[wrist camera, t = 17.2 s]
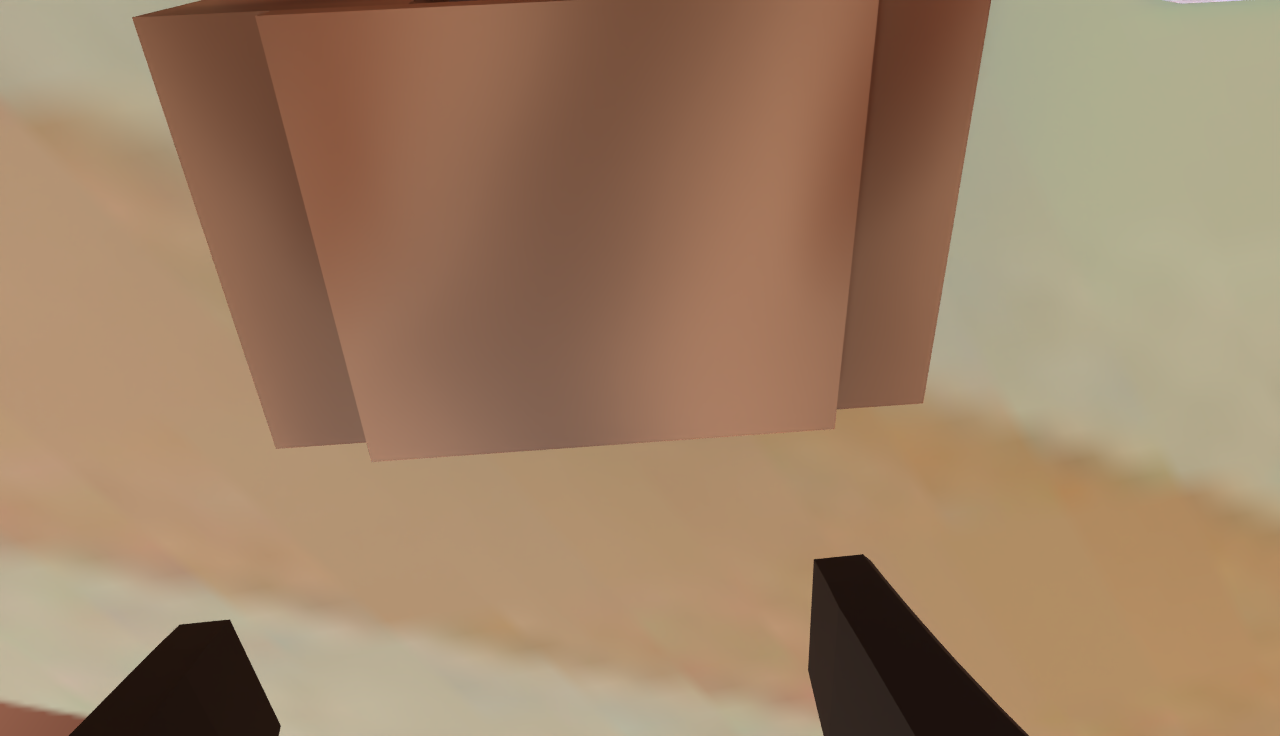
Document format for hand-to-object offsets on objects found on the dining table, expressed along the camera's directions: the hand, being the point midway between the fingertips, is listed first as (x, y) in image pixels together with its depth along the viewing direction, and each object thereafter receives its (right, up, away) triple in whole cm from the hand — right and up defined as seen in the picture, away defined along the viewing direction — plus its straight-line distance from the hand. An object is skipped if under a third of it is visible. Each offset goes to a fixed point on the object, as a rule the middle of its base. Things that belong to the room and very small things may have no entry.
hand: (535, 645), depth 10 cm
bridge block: (0, +9, +5) cm, 11 cm away
